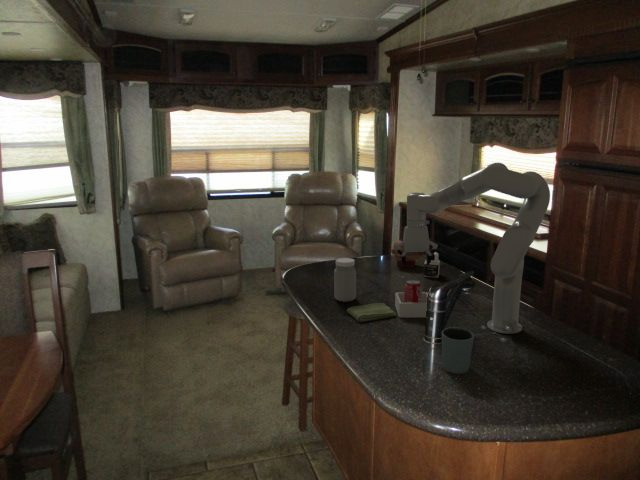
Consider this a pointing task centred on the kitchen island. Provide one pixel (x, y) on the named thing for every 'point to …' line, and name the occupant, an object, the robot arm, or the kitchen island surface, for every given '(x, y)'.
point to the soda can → (412, 291)
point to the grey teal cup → (456, 349)
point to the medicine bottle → (432, 266)
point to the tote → (410, 306)
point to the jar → (345, 280)
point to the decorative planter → (409, 256)
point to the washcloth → (370, 312)
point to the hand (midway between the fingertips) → (415, 264)
